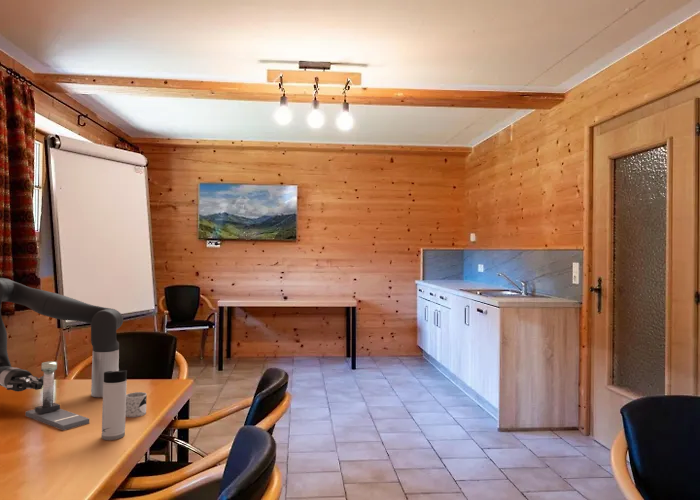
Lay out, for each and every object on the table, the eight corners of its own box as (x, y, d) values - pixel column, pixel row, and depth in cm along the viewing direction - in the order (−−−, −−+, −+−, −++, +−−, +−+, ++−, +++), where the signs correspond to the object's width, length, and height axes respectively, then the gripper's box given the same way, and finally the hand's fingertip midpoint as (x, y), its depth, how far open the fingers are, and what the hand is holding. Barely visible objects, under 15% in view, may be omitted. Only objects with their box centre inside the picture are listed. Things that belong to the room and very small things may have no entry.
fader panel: (25, 415, 156) (25, 411, 156) (50, 409, 163) (50, 405, 163) (63, 430, 144) (63, 425, 144) (89, 423, 151) (89, 418, 151)
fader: (34, 411, 155) (36, 363, 156) (53, 407, 160) (55, 360, 161) (41, 414, 153) (43, 365, 154) (60, 409, 158) (62, 362, 159)
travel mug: (101, 442, 135) (103, 372, 136) (101, 434, 141) (103, 368, 142) (125, 438, 138) (127, 371, 139) (124, 431, 144) (126, 366, 145)
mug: (143, 416, 158) (144, 397, 158) (122, 417, 157) (123, 397, 157) (149, 407, 168) (150, 389, 168) (130, 408, 166) (130, 389, 167)
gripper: (-6, 372, 163) (18, 379, 154) (35, 365, 175) (60, 371, 166) (-7, 393, 163) (17, 402, 154) (35, 385, 175) (59, 393, 165)
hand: (39, 386), depth 160 cm, fingers closed
